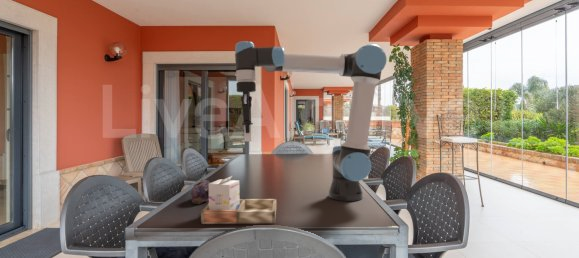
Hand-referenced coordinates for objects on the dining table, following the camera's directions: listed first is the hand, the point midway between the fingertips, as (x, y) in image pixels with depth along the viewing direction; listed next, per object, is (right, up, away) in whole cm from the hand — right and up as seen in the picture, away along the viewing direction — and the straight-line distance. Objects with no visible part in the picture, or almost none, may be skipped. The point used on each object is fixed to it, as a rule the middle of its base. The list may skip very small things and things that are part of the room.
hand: (248, 141), depth 130 cm
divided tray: (-1, -27, -11) cm, 29 cm away
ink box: (-7, -26, -12) cm, 29 cm away
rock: (-21, -26, +10) cm, 35 cm away
